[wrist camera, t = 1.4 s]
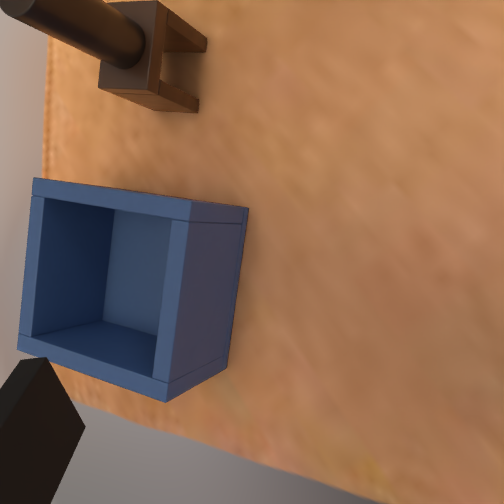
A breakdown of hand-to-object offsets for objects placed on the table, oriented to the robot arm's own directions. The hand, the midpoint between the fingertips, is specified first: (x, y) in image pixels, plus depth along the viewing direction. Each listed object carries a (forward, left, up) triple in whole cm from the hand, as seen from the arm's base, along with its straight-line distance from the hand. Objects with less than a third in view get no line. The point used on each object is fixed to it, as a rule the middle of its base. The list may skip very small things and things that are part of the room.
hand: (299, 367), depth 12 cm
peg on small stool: (-13, -18, -19) cm, 29 cm away
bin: (+2, -17, -19) cm, 26 cm away
